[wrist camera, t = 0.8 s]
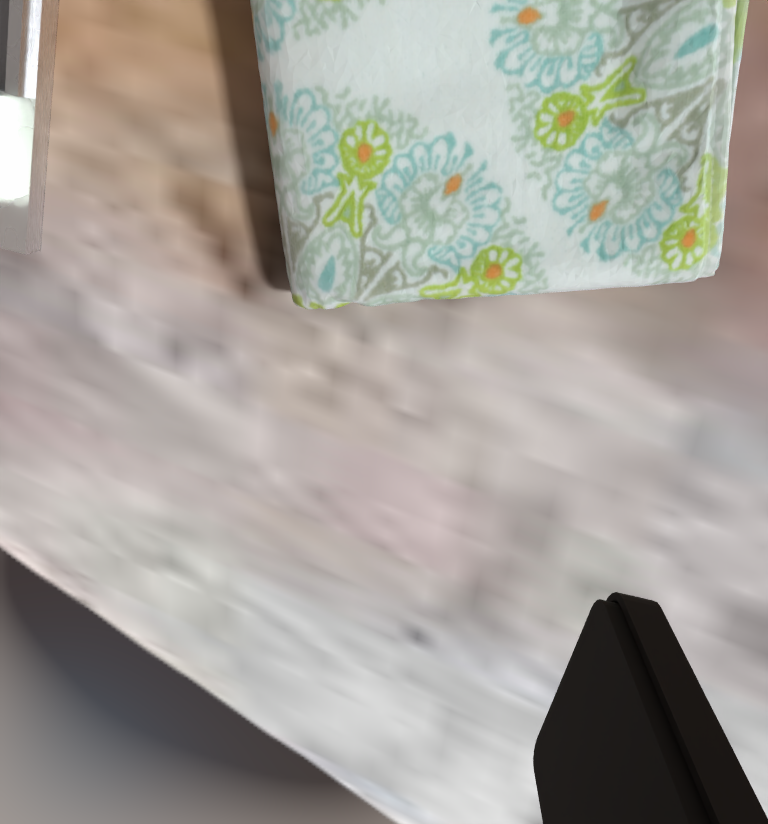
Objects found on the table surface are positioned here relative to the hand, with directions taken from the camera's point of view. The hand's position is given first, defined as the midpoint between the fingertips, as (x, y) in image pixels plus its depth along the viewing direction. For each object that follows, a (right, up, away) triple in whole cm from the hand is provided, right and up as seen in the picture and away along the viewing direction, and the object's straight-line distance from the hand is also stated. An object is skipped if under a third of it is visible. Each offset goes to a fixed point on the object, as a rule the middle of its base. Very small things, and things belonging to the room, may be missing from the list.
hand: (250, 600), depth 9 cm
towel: (+7, +18, +24) cm, 31 cm away
